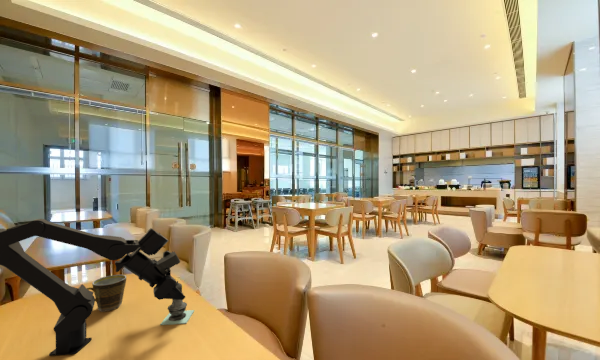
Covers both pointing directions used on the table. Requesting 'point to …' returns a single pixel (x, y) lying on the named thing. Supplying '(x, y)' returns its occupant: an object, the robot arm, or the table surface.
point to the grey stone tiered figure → (177, 307)
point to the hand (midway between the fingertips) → (181, 293)
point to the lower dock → (182, 321)
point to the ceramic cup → (109, 292)
